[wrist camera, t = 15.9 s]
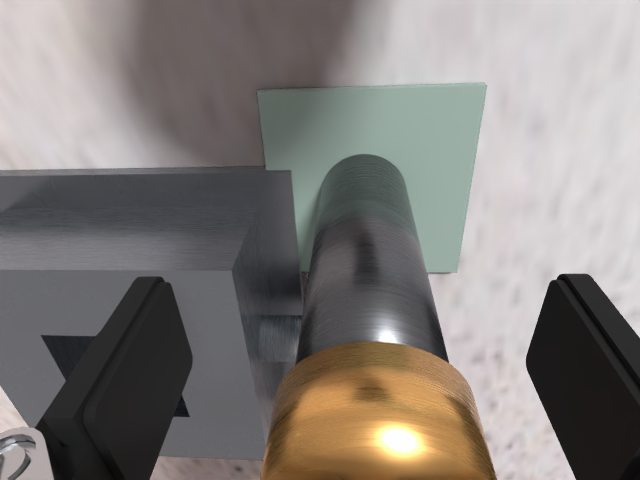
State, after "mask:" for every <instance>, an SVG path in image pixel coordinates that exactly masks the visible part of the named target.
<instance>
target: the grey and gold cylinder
mask: <svg viewBox="0 0 640 480" xmlns="http://www.w3.org/2000/svg"><path fill="white" fill-rule="evenodd" d="M260 480H497V478H496V474H495V471H494V467H493V464H492V460H491V457H490V453H489V449H488V446H487V442H486V439H485V435H484V432H483V428H482V425H481V421H480V418H479V414H478V410H477V407H476V403H475V400H474V396H473V393H472V390H471V388H470V386H469V384H468V382H467V381H466V380H465V378H464V377H463V376H462V375H461V373H460V372H458V371H457V370H456V369H455V368H454V367H453V366H452V365H450V364H449V361H448V357H447V352H446V348H445V344H444V340H443V336H442V332H441V328H440V324H439V320H438V315H437V311H436V307H435V303H434V299H433V295H432V291H431V287H430V283H429V278H428V274H427V270H426V266H425V262H424V258H423V254H422V250H421V246H420V241H419V237H418V233H417V229H416V225H415V221H414V217H413V213H412V209H411V205H410V200H409V196H408V192H407V188H406V184H405V181H404V178H403V176H402V174H401V172H400V171H399V170H398V168H397V167H396V166H395V165H394V164H392V163H391V162H390V161H388V160H386V159H384V158H382V157H380V156H376V155H371V154H358V155H353V156H350V157H347V158H345V159H343V160H341V161H339V162H338V163H336V164H335V165H334V166H333V167H332V168H331V169H330V170H329V171H328V173H327V174H326V176H325V178H324V180H323V184H322V188H321V195H320V201H319V208H318V215H317V221H316V228H315V235H314V242H313V248H312V255H311V262H310V268H309V275H308V282H307V288H306V295H305V302H304V308H303V315H302V322H301V329H300V335H299V342H298V349H297V355H296V362H295V366H294V367H293V368H291V369H290V370H289V372H288V373H287V374H286V375H285V376H284V377H283V379H282V381H281V382H280V384H279V386H278V389H277V392H276V396H275V401H274V406H273V412H272V417H271V423H270V428H269V434H268V439H267V444H266V450H265V455H264V461H263V466H262V471H261V477H260Z"/></svg>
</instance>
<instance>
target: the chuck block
mask: <svg viewBox="0 0 640 480" xmlns="http://www.w3.org/2000/svg"><path fill="white" fill-rule="evenodd" d="M146 276H160V277H162V278H163V279H164V280H165V282H169V283H170V284H171V286H172V289H173V292H174V295H175V299H176V302H177V305H178V309H179V312H180V315H181V318H182V322H183V325H184V328H185V332H186V335H187V338H188V342H189V345H190V348H191V352H192V356H193V364H192V368H191V371H190V374H189V376H188V379H187V382H186V384H185V387H184V390H183V392H182V395H181V398H180V400H179V403H178V406H177V408H176V411H175V413H174V416H173V419H172V421H171V424H170V427H169V429H168V432H167V435H166V437H165V440H164V443H163V445H162V448H161V450H160V453H159V456H173V457H196V458H220V459H243V460H264V455H265V450H266V444H267V439H268V434H269V428H270V423H271V417H272V412H273V406H274V401H275V396H276V392H277V389H278V386H279V384H280V382H281V381H282V379H283V377H284V376H285V375H286V374H287V373H288V372H289V370H290V369H291V368H293V367H294V366H295V362H296V355H297V349H298V342H299V335H300V329H301V322H302V315H303V308H304V294H303V282H302V272H300V264H299V253H298V241H297V230H296V219H295V207H294V196H293V185H292V173H291V170H266V166H256V167H191V168H125V169H60V170H0V386H1V387H2V389H3V390H4V392H5V393H6V395H7V396H8V397H9V399H10V400H11V402H12V403H13V405H14V406H15V408H16V409H17V410H18V412H19V413H20V415H21V416H22V418H23V419H24V421H25V422H26V424H27V425H28V426H29V428H35V427H36V425H37V424H38V422H39V421H40V419H41V418H42V416H43V415H44V413H45V412H46V410H47V409H48V407H49V406H50V404H51V403H52V401H53V400H54V398H55V397H56V395H57V394H58V392H59V391H60V389H61V388H62V386H63V385H64V383H65V382H66V380H67V379H68V377H69V376H70V374H71V373H72V371H73V370H74V368H75V367H76V365H77V364H78V362H79V361H80V359H81V358H82V356H83V355H84V353H85V352H86V350H87V349H88V347H89V346H90V344H91V343H92V341H93V340H94V338H95V337H96V335H97V334H98V333H99V332H100V331H101V330H102V328H103V327H104V325H105V324H106V322H107V321H108V319H109V318H110V316H111V315H112V313H113V312H114V310H115V309H116V307H117V306H118V304H119V303H120V301H121V300H122V298H123V297H124V295H125V294H126V292H127V291H128V289H129V288H130V286H131V285H132V283H133V282H134V280H135V279H136V278H137V277H146Z"/></svg>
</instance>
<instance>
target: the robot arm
mask: <svg viewBox="0 0 640 480" xmlns="http://www.w3.org/2000/svg"><path fill="white" fill-rule="evenodd" d="M192 364H193V356H192V352H191V348H190V345H189V342H188V338H187V335H186V332H185V328H184V325H183V322H182V318H181V315H180V312H179V309H178V305H177V302H176V299H175V295H174V292H173V289H172V286H171V284H170V283H169V282H165V280H164V279H163V278H162V277H160V276H146V277H137V278H136V279H135V280H134V282H133V283H132V285H131V286H130V288H129V289H128V291H127V292H126V294H125V295H124V297H123V298H122V300H121V301H120V303H119V304H118V306H117V307H116V309H115V310H114V312H113V313H112V315H111V316H110V318H109V319H108V321H107V322H106V324H105V325H104V327H103V328H102V330H101V331H100V332H99V333H98V334H97V335H96V337H95V338H94V340H93V341H92V343H91V344H90V346H89V347H88V349H87V350H86V352H85V353H84V355H83V356H82V358H81V359H80V361H79V362H78V364H77V365H76V367H75V368H74V370H73V371H72V373H71V374H70V376H69V377H68V379H67V380H66V382H65V383H64V385H63V386H62V388H61V389H60V391H59V392H58V394H57V395H56V397H55V398H54V400H53V401H52V403H51V404H50V406H49V407H48V409H47V410H46V412H45V413H44V415H43V416H42V418H41V419H40V421H39V422H38V424H37V425H36V427H35V428H29V427H20V428H14V429H10V430H8V431H5V432H3V433H0V480H150V477H151V474H152V472H153V469H154V466H155V464H156V461H157V458H158V456H159V453H160V450H161V448H162V445H163V443H164V440H165V437H166V435H167V432H168V429H169V427H170V424H171V421H172V419H173V416H174V413H175V411H176V408H177V406H178V403H179V400H180V398H181V395H182V392H183V390H184V387H185V384H186V382H187V379H188V376H189V374H190V371H191V368H192ZM526 367H527V371H528V373H529V375H530V378H531V380H532V382H533V384H534V387H535V389H536V391H537V393H538V395H539V398H540V400H541V402H542V404H543V407H544V409H545V411H546V413H547V416H548V418H549V420H550V422H551V424H552V427H553V429H554V431H555V433H556V436H557V438H558V440H559V442H560V445H561V447H562V449H563V451H564V453H565V456H566V458H567V460H568V462H569V465H570V467H571V469H572V471H573V474H574V476H575V478H576V480H640V338H639V337H638V335H637V334H636V333H635V332H634V330H633V329H632V328H631V327H630V325H629V324H628V323H627V321H626V320H625V319H624V318H623V316H622V315H621V314H620V313H619V311H618V310H617V309H616V307H615V306H614V305H613V304H612V302H611V301H610V300H609V299H608V297H607V296H606V295H605V293H604V292H603V291H602V290H601V288H600V287H599V286H598V285H597V283H596V282H595V281H594V279H593V278H592V277H591V276H590V275H588V274H560V275H559V276H558V277H557V280H552V281H551V282H550V284H549V286H548V290H547V293H546V296H545V299H544V302H543V305H542V309H541V312H540V315H539V318H538V321H537V324H536V327H535V331H534V334H533V337H532V340H531V343H530V346H529V350H528V353H527V356H526Z"/></svg>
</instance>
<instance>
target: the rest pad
mask: <svg viewBox="0 0 640 480" xmlns="http://www.w3.org/2000/svg"><path fill="white" fill-rule="evenodd" d="M486 89H487V85H486V84H485V83H457V84H425V85H392V86H359V87H326V88H293V89H261V90H258V91H257V100H258V108H259V116H260V124H261V132H262V141H263V149H264V157H265V165H266V170H291V173H292V185H293V196H294V207H295V219H296V230H297V241H298V253H299V264H300V272H309V268H310V262H311V255H312V248H313V242H314V235H315V228H316V221H317V215H318V208H319V201H320V195H321V188H322V184H323V180H324V178H325V176H326V174H327V173H328V171H329V170H330V169H331V168H332V167H333V166H334V165H335V164H336V163H338V162H339V161H341V160H343V159H345V158H347V157H350V156H353V155H358V154H371V155H376V156H380V157H382V158H384V159H386V160H388V161H390V162H391V163H392V164H394V165H395V166H396V167H397V168H398V170H399V171H400V172H401V174H402V176H403V178H404V181H405V184H406V188H407V192H408V196H409V200H410V205H411V209H412V213H413V217H414V221H415V225H416V229H417V233H418V237H419V241H420V246H421V250H422V254H423V258H424V262H425V266H426V270H427V272H446V273H457V269H458V263H459V257H460V251H461V244H462V238H463V232H464V226H465V220H466V213H467V207H468V201H469V195H470V188H471V182H472V176H473V170H474V164H475V157H476V151H477V145H478V139H479V133H480V126H481V120H482V114H483V108H484V101H485V95H486Z"/></svg>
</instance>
